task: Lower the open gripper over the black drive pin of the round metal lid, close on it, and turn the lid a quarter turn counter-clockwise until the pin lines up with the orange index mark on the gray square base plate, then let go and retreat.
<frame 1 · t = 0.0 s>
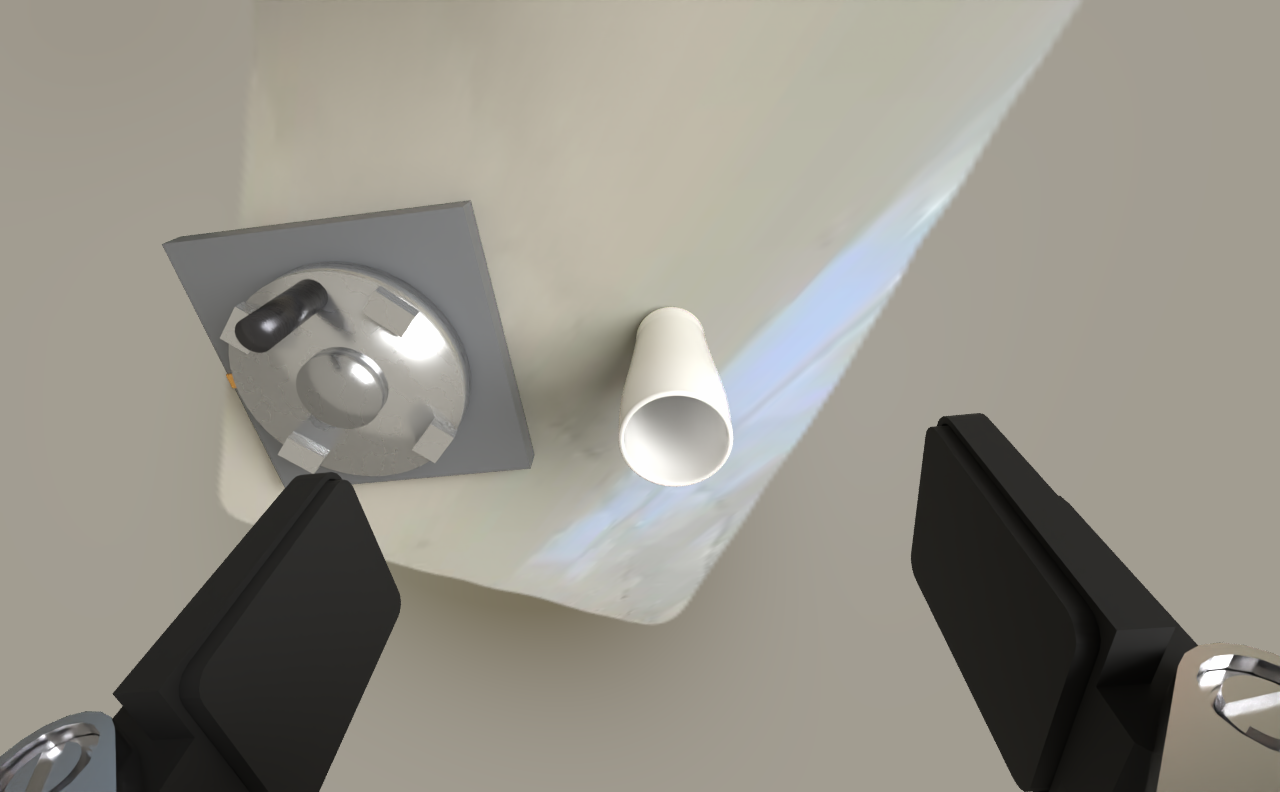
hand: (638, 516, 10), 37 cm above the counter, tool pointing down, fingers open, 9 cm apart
drinking glass: (670, 334, 49), on the counter
round metal lid: (333, 398, 44), point 7 cm above the counter, hinge at 0.0°
gray square base plate: (373, 355, 50), on the counter
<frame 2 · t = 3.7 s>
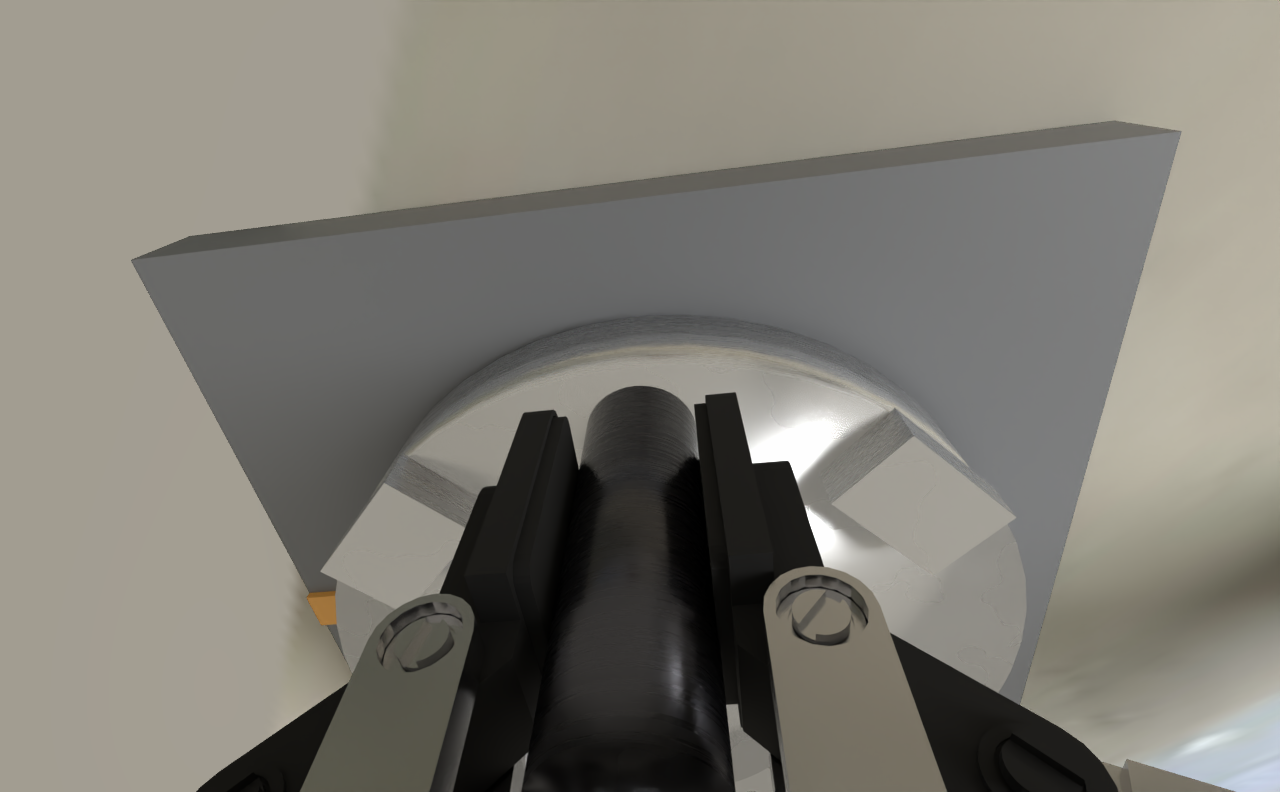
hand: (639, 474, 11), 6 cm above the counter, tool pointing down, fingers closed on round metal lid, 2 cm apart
round metal lid: (677, 750, 14), point 7 cm above the counter, hinge at 0.0°, touching gripper
gray square base plate: (670, 534, 20), on the counter
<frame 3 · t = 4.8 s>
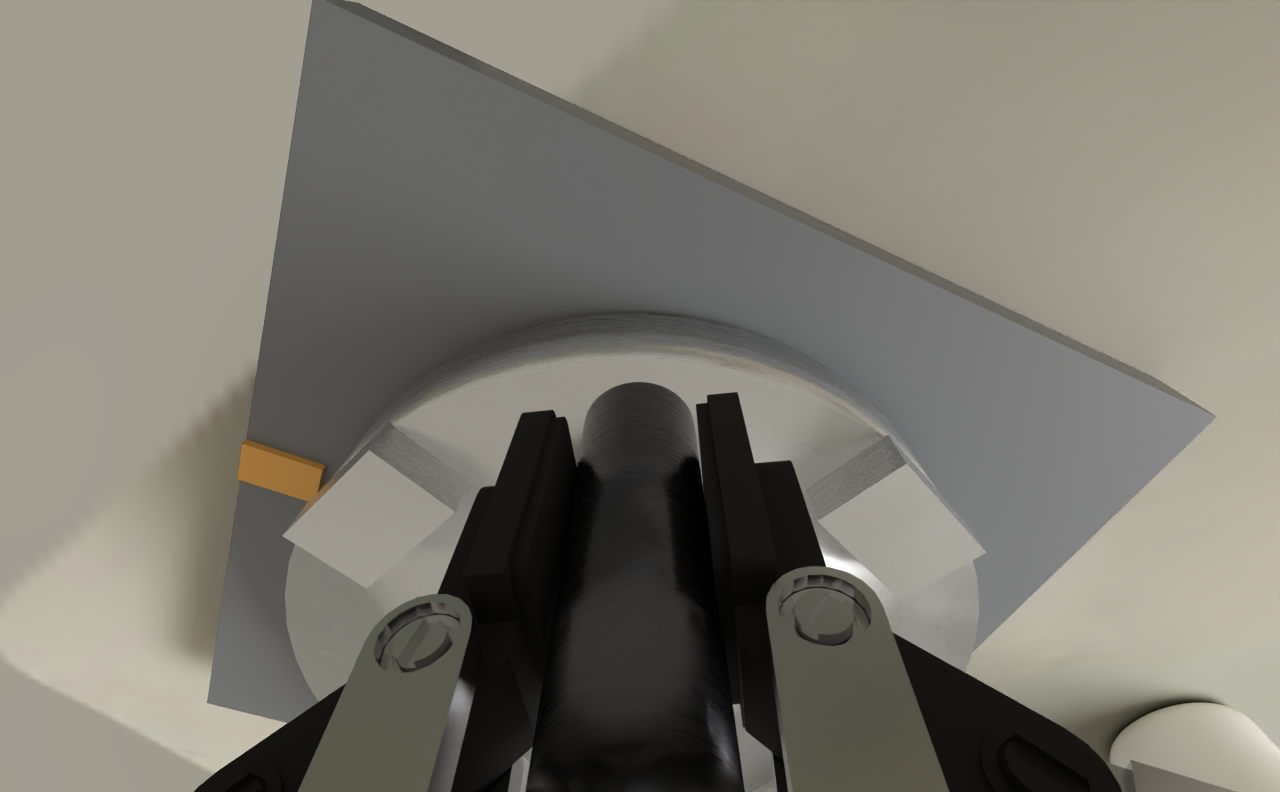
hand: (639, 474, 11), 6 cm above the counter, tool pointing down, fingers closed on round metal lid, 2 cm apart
drinking glass: (1168, 731, 25), on the counter
round metal lid: (630, 752, 14), point 7 cm above the counter, hinge at 22.0°, touching gripper
gray square base plate: (634, 535, 20), on the counter
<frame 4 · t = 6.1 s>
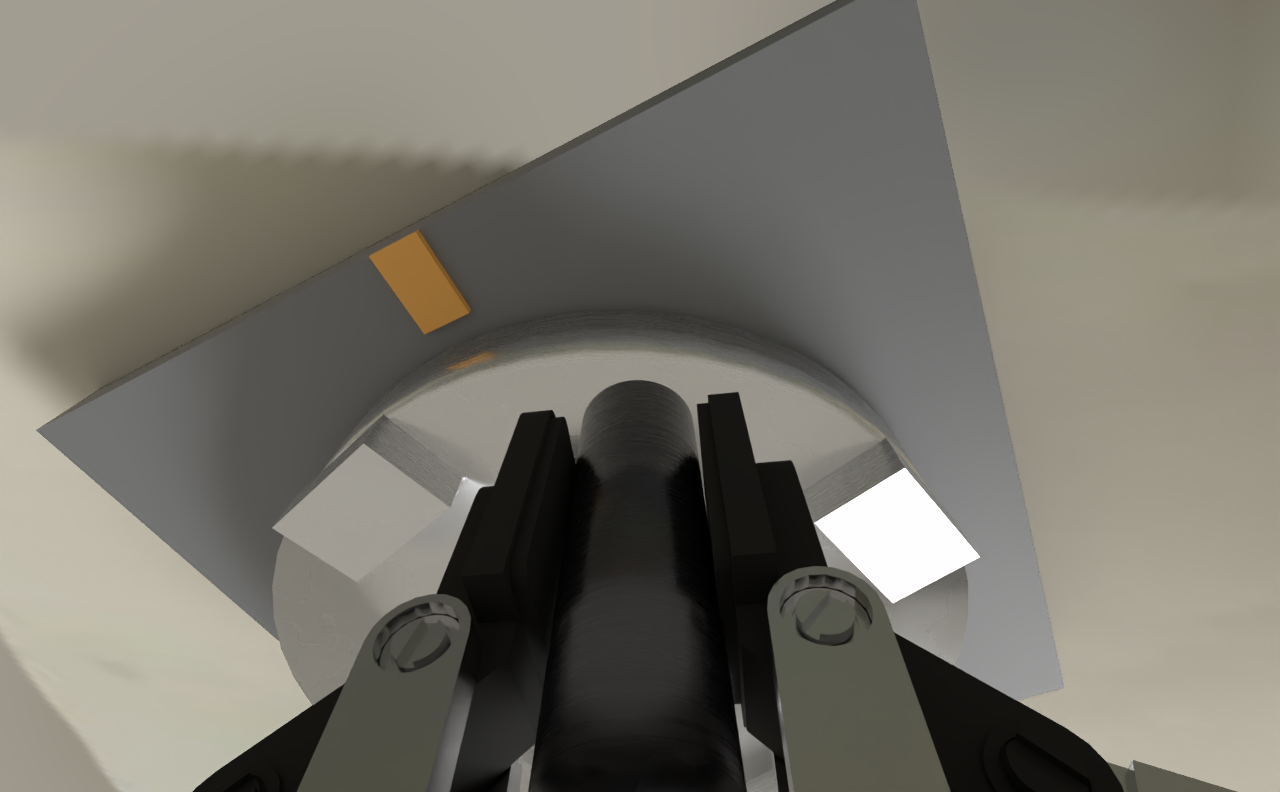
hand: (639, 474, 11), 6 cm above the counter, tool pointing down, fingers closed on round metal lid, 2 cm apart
round metal lid: (620, 749, 14), point 7 cm above the counter, hinge at 61.2°, touching gripper
gray square base plate: (625, 530, 20), on the counter
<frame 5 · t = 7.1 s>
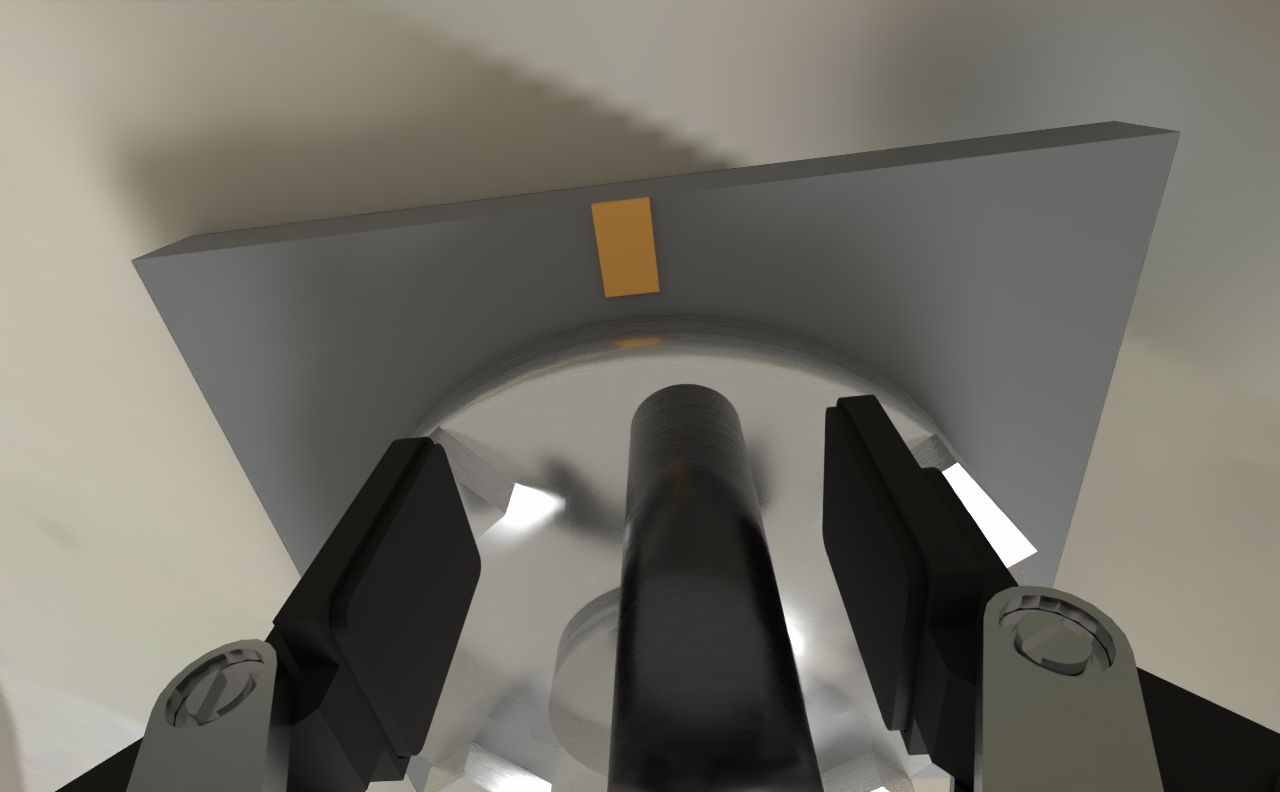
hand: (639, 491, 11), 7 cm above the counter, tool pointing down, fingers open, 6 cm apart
round metal lid: (677, 750, 14), point 7 cm above the counter, hinge at 82.7°
gray square base plate: (670, 534, 20), on the counter
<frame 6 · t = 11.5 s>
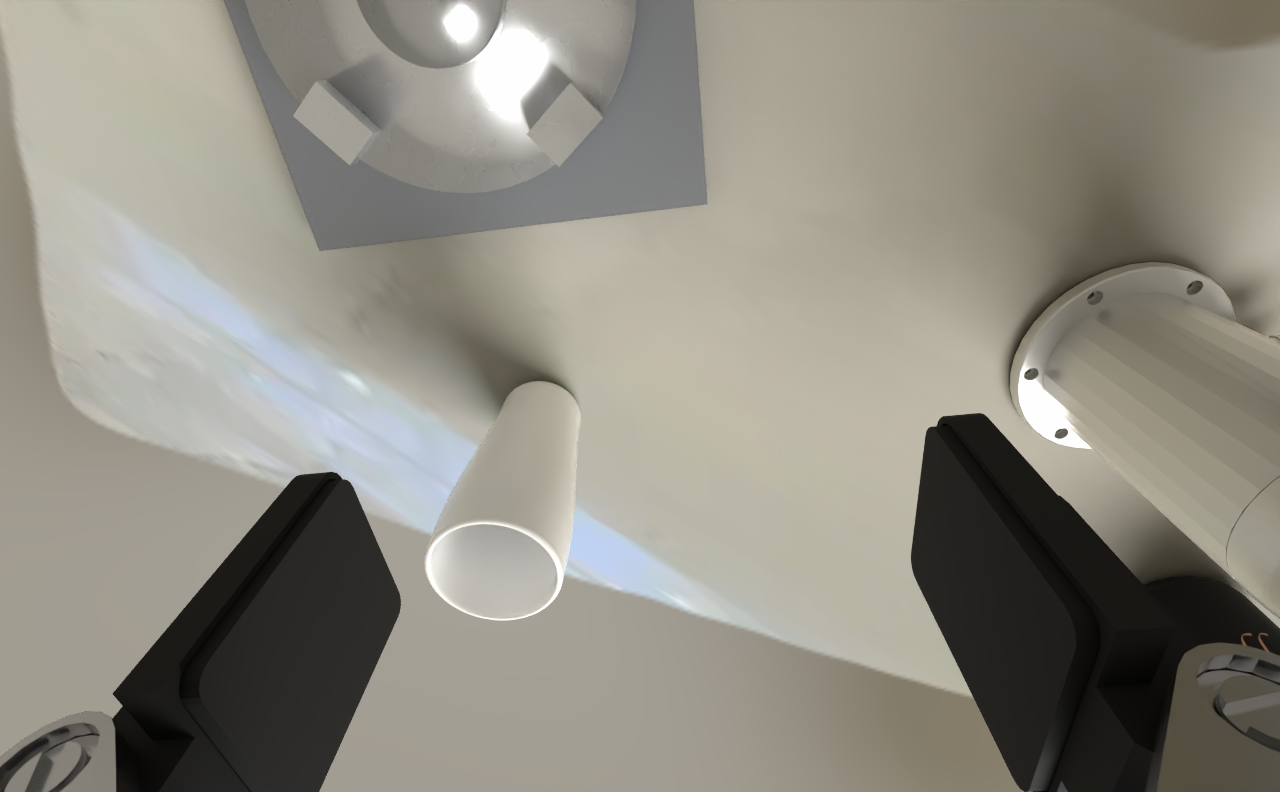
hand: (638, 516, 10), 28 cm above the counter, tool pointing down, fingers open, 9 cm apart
drinking glass: (543, 410, 43), on the counter
coffee jar: (1161, 615, 51), on the counter
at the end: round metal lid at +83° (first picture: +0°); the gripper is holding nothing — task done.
